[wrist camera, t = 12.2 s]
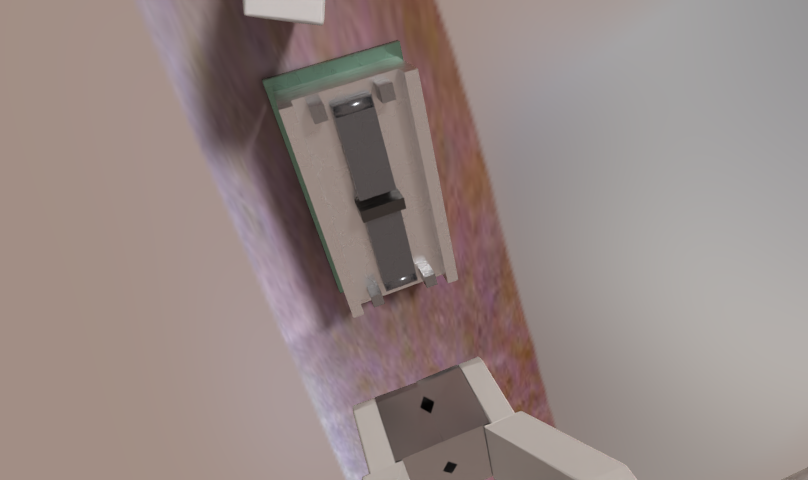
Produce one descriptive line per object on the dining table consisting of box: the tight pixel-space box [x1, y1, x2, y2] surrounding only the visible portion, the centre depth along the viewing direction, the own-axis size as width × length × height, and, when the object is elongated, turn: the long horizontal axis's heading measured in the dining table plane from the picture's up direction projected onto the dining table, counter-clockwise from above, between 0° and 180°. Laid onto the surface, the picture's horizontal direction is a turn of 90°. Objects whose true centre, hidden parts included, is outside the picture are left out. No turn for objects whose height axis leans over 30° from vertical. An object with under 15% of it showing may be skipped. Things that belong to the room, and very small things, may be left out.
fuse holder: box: [262, 40, 458, 318], centre depth 41 cm, size 21×11×7 cm, turn 12°
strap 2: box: [365, 210, 418, 292], centre depth 42 cm, size 8×3×1 cm, turn 12°
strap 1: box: [330, 93, 396, 201], centre depth 36 cm, size 8×3×1 cm, turn 12°
